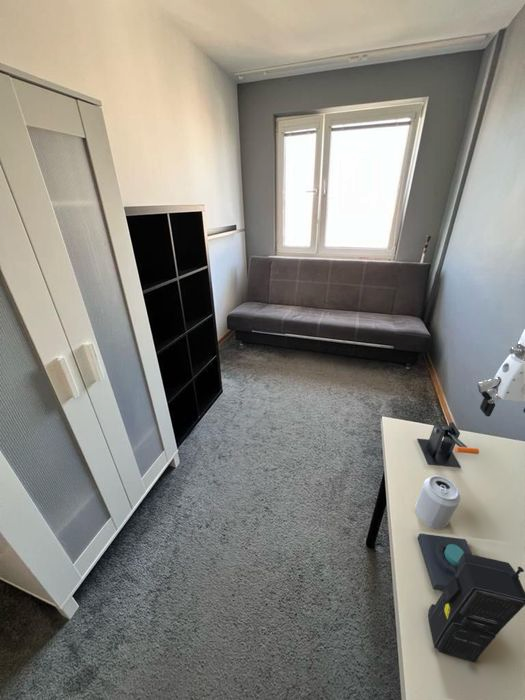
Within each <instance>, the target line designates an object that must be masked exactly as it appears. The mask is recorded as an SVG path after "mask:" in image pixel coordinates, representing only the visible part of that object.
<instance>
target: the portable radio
mask: <svg viewBox="0 0 525 700" xmlns="http://www.w3.org/2000/svg"><path fill="white" fill-rule="evenodd" d="M524 572H525V570H524V569H523V567H521V566H517V570H515V569H514V568H513V566H512V565H511V564H510V563H509V562H507V561H504V560H498V559H494V558H489V557H485V556H479V555H475V554H472V555H471V554H467V553H463V554H462V556H461V558H460V559H459V561H458V570H457V572H456V573H455V575H454V576H453V578H452V579H451V581H450V582H449V583H448V584H447V586H446V587H445V588H444V589H443V590H441V591H442V593H441V595H440V596H439V598H438V599H437V601H436V603H431V604H430V606H429V608H428V612H427V619H428V625H429V629H430V634H431V635H430V636H431V639H432V644H433V647H434V648H435V649H437V651H438V652H439V653H442V654H445V655H448V656H452V657H455V658H458V659H461V660H465V661H469V662H472V663H476V662H477V660H478V659H479V657H480V656H481V655H482V654H483V652H484V651H485V650H486V649H487V647H489V646H490V645H491V643H492V642H493V641H494V639H495V638H496V636H497V635H498V634H499V633H500V631H501V630H502V629H504V627H505V626H507V624H508V623H509V622H510V621H511V620H512V619H513V618H514V617H515V616H516V615H517V614H518V613H519V612H520V611H521V610H522V609H523V608H524V607H525V589H524V587H523V585H522V582H521V580H520V576H519V575H520V573H524Z"/></svg>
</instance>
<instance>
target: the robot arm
mask: <svg viewBox="0 0 525 700" xmlns="http://www.w3.org/2000/svg"><path fill="white" fill-rule="evenodd" d="M477 388H478V393H480V394H481V396H482V397H483V399H482V401H481V403H480V405H479V409H480V411H481V412H482V413H483V414H484V415H485V417H490V416H491V415H492V413H493V411H494V409H495V407H496V402H497V401H499V400H503V401H507V402H519V403H525V328H524V329H523V331H522V334H521V336H520V338H519V340H518V342H517V344H516V346H515V347H510V349H509V355H508V356H507V358H506V359H505V360H504V361H503V362H502V364H501V365H500V367H499V369H498V370H497V372H496V374H495V375H494V377H493V378H491V379H487V380H484V381H481V382H478V383H477ZM495 393H496V394H495ZM523 413H524V414H525V407H524V408H523Z"/></svg>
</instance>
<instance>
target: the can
mask: <svg viewBox="0 0 525 700" xmlns="http://www.w3.org/2000/svg"><path fill="white" fill-rule="evenodd" d="M460 501H461V495H460V491H459V489H458V487H457V485H456V484H455V483H454V482H453V481H452V480H450V479H449V478H447V477H445V476H442V475H432V476H430V477H427V479H425V480H424V482H423V484H422V487H421V490H420V493H419V494H418V498H417V500H416V503H415V506H414V511H415V514H416V516H417V518H418V520H420V522H422V523H423V524H424V525H425V526H427V527H429V528H431V529H434V530H442V529H443V530H444V529H446V527H447V526H448V525H449V523H450V521H451V519H452V518H453V516H454V514H455V511H456V509H457V508H458V506H459V504H460Z"/></svg>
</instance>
